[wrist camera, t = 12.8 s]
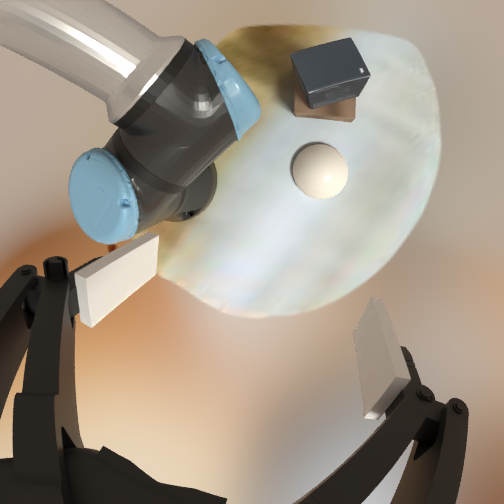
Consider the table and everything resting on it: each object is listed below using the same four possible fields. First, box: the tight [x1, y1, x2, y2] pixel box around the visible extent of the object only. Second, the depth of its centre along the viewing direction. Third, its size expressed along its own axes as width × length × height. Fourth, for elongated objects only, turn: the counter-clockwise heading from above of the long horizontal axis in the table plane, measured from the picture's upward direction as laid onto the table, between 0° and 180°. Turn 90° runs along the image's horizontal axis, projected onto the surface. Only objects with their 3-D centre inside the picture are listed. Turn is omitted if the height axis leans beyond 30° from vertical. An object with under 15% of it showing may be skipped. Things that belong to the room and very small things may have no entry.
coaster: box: [293, 144, 348, 199], centre depth 42 cm, size 9×9×1 cm
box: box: [290, 38, 371, 109], centre depth 28 cm, size 8×6×11 cm
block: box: [294, 74, 356, 122], centre depth 36 cm, size 9×9×5 cm
